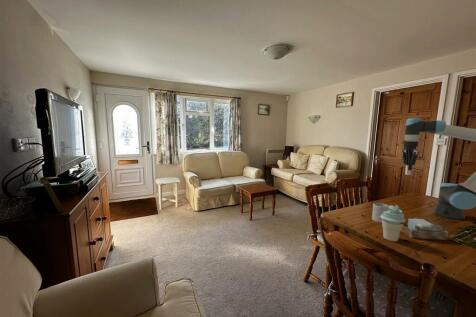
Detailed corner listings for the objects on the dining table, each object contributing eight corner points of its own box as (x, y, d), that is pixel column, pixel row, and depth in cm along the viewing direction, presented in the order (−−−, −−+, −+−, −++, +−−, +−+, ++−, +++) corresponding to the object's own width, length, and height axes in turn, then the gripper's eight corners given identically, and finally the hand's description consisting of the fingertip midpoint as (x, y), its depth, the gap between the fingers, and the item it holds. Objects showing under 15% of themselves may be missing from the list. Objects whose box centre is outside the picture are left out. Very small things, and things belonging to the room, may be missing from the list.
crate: (421, 230, 121) (423, 219, 120) (433, 237, 113) (434, 225, 112) (407, 229, 122) (408, 218, 121) (417, 236, 114) (418, 224, 113)
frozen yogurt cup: (381, 231, 119) (384, 199, 116) (405, 239, 110) (409, 204, 108) (375, 237, 113) (378, 203, 110) (400, 246, 104) (404, 209, 102)
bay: (416, 221, 132) (418, 210, 131) (448, 240, 109) (450, 227, 108) (387, 220, 134) (388, 209, 133) (412, 238, 111) (413, 225, 110)
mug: (384, 224, 129) (385, 207, 127) (369, 219, 136) (370, 204, 134) (391, 219, 136) (392, 204, 134) (377, 215, 143) (378, 200, 141)
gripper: (399, 140, 144) (396, 172, 147) (412, 141, 132) (408, 176, 134) (410, 140, 143) (407, 172, 146) (424, 141, 130) (421, 176, 133)
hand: (408, 174), depth 140 cm, fingers closed
